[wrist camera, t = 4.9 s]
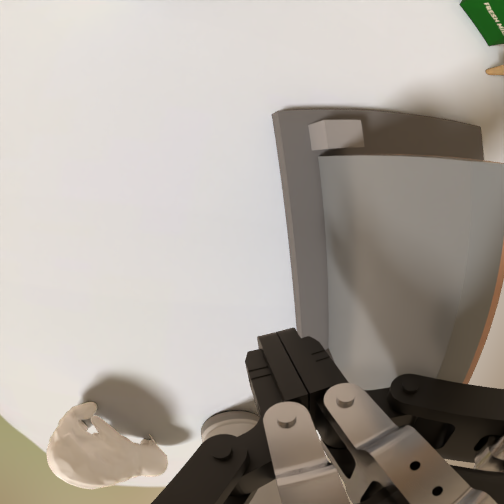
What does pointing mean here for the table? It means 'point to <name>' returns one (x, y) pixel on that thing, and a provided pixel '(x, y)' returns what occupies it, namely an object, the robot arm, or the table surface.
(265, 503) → the travel mug
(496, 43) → the milk carton
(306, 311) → the base
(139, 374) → the table surface
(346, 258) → the tile
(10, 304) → the table surface
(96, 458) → the beige irregular lump
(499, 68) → the ice cream cone
